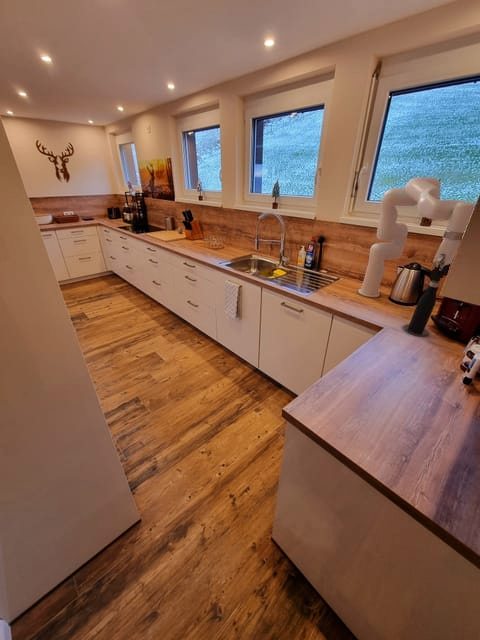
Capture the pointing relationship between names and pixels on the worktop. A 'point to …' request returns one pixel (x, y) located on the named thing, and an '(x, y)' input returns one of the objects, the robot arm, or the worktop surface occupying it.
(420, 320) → the black bottle
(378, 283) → the robot arm
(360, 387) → the worktop surface
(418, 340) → the worktop surface
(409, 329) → the slate coaster
